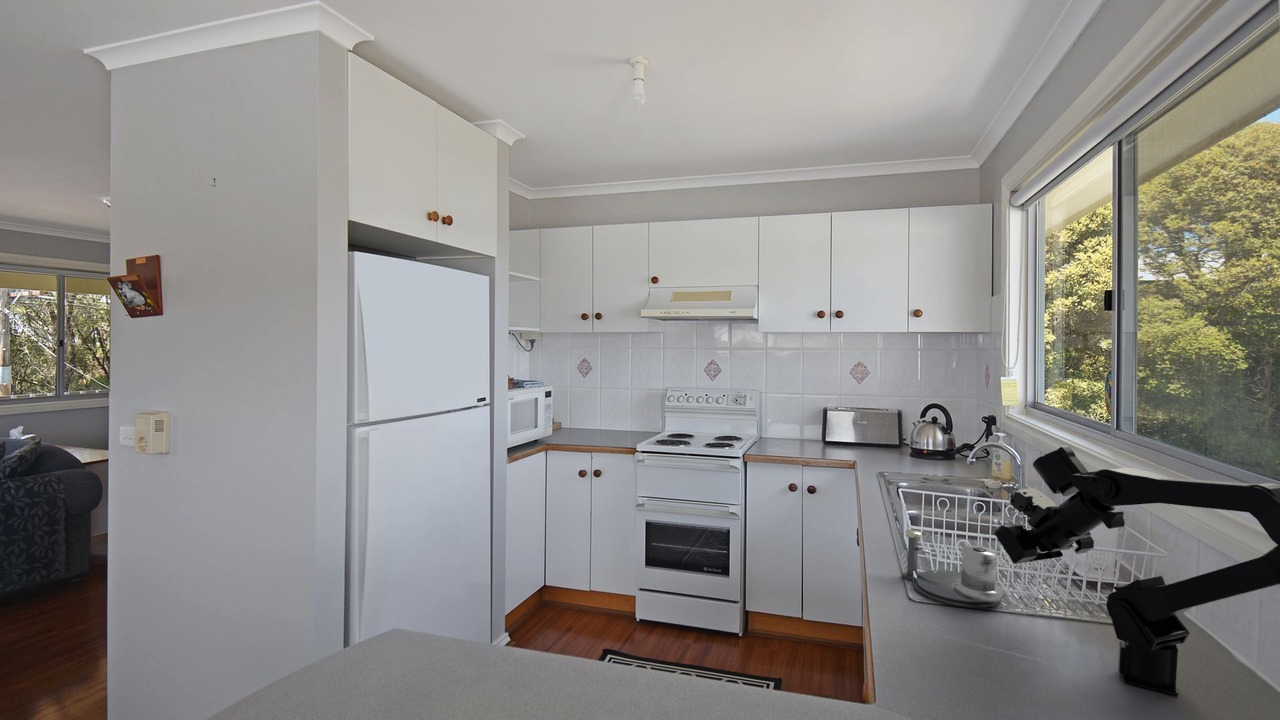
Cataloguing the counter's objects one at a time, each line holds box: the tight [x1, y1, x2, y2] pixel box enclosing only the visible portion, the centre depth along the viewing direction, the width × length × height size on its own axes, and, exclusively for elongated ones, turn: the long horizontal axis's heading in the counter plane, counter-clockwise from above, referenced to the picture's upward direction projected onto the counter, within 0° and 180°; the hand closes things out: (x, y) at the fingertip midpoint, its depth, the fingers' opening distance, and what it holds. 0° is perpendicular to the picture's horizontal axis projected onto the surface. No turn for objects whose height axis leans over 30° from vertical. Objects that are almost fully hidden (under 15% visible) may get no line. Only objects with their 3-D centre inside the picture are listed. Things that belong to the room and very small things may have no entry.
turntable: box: [913, 569, 1002, 610], centre depth 134 cm, size 16×16×2 cm
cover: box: [954, 544, 1003, 602], centre depth 128 cm, size 8×8×9 cm
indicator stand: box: [901, 529, 932, 581], centre depth 140 cm, size 5×3×10 cm, turn 40°
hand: (1013, 561), depth 122 cm, fingers closed
